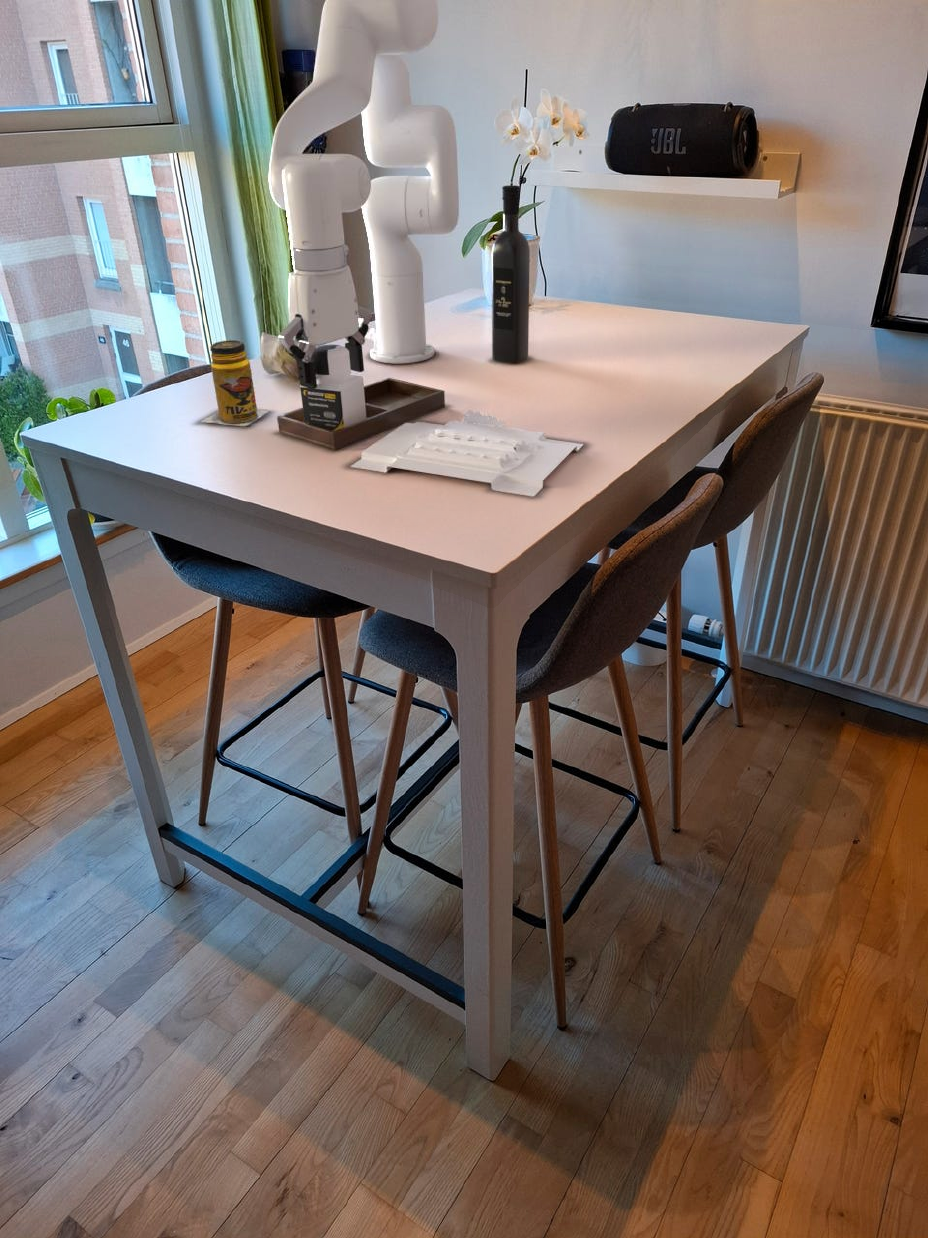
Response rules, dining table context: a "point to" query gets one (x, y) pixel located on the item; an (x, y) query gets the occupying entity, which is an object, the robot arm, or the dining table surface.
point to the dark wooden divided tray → (369, 413)
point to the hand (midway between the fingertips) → (332, 378)
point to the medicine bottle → (333, 391)
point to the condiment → (233, 385)
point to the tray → (471, 452)
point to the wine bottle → (510, 285)
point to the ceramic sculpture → (277, 357)
